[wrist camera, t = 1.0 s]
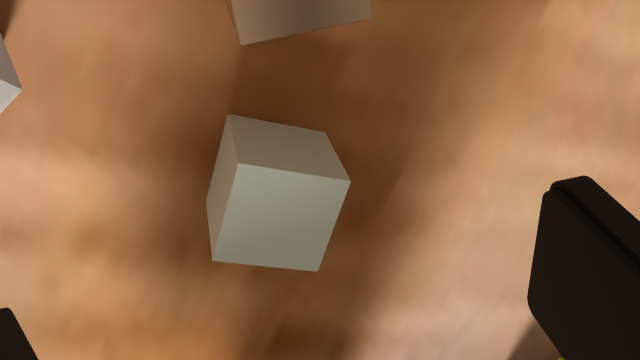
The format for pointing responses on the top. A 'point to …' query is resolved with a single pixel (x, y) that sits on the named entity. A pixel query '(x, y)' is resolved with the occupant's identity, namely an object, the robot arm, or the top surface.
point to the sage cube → (274, 195)
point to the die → (7, 78)
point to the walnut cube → (292, 16)
